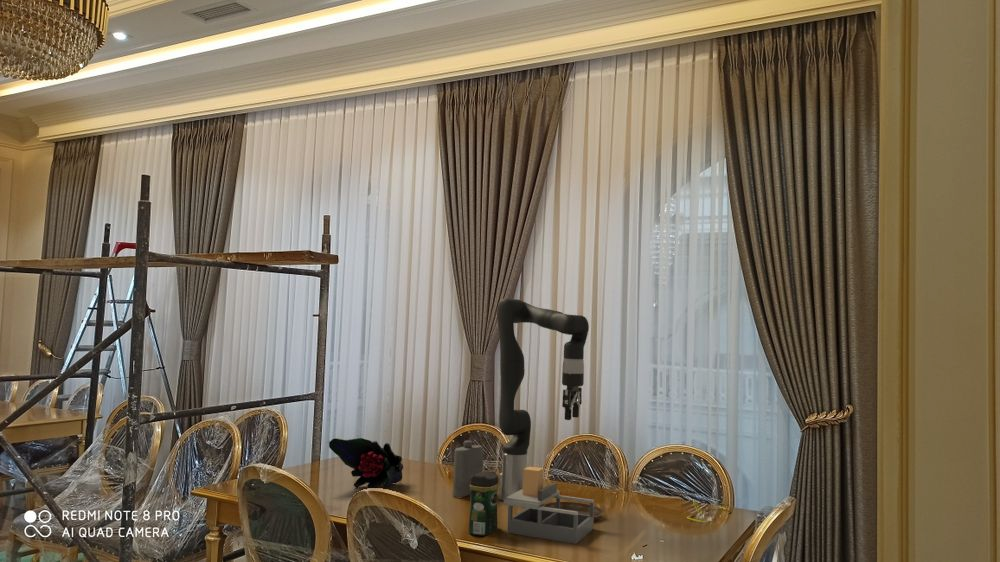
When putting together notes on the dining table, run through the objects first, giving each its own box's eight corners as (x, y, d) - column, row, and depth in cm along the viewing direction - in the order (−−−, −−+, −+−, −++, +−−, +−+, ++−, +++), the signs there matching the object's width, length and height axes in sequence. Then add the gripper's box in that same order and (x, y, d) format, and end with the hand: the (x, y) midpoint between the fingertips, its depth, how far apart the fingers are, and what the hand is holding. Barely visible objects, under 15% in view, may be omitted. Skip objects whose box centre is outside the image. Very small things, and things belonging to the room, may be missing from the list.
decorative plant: (399, 509, 275) (358, 504, 249) (354, 475, 287) (311, 467, 261) (426, 463, 277) (388, 453, 251) (381, 431, 290) (340, 418, 264)
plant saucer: (604, 513, 245) (605, 504, 245) (601, 529, 225) (601, 519, 225) (546, 508, 249) (547, 499, 249) (538, 523, 229) (538, 513, 229)
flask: (472, 489, 273) (474, 438, 275) (484, 492, 270) (486, 439, 272) (448, 496, 261) (450, 442, 262) (460, 498, 258) (462, 444, 259)
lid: (503, 503, 213) (504, 488, 214) (527, 491, 231) (528, 477, 232) (538, 508, 209) (538, 493, 209) (559, 495, 227) (559, 481, 227)
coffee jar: (478, 527, 221) (480, 468, 223) (500, 530, 218) (502, 470, 219) (463, 534, 213) (466, 473, 214) (487, 538, 209) (489, 476, 211)
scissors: (704, 526, 235) (704, 512, 235) (677, 519, 241) (678, 505, 241) (734, 513, 253) (734, 500, 253) (708, 507, 260) (709, 494, 260)
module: (522, 494, 219) (523, 469, 220) (528, 491, 224) (529, 466, 224) (537, 496, 217) (538, 470, 218) (542, 493, 222) (543, 468, 222)
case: (507, 535, 213) (508, 502, 214) (528, 521, 229) (529, 491, 230) (576, 547, 204) (577, 512, 205) (593, 531, 221) (594, 499, 221)
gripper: (569, 370, 251) (567, 415, 250) (556, 372, 238) (554, 419, 237) (589, 371, 248) (588, 417, 247) (577, 373, 235) (575, 421, 234)
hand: (571, 418), depth 242 cm, fingers open, 8 cm apart
